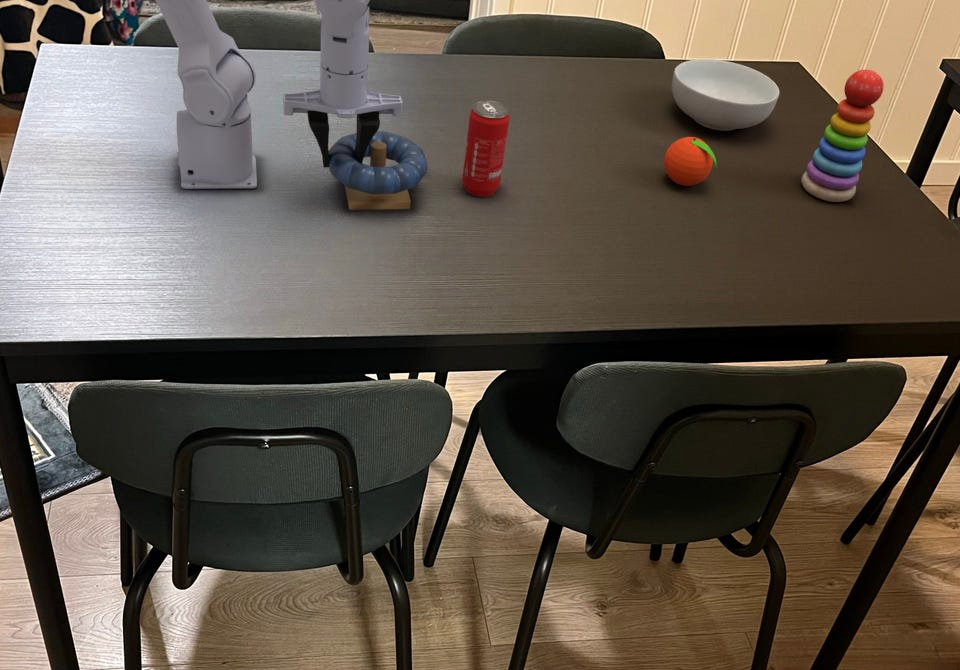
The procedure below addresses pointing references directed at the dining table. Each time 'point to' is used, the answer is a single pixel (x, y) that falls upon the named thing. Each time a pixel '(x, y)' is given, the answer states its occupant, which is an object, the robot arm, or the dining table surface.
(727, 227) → the dining table surface
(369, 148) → the ring
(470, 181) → the beverage can
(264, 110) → the dining table surface
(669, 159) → the clementine
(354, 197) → the stand
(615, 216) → the dining table surface
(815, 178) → the stacking toy
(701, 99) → the cereal bowl
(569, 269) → the dining table surface
